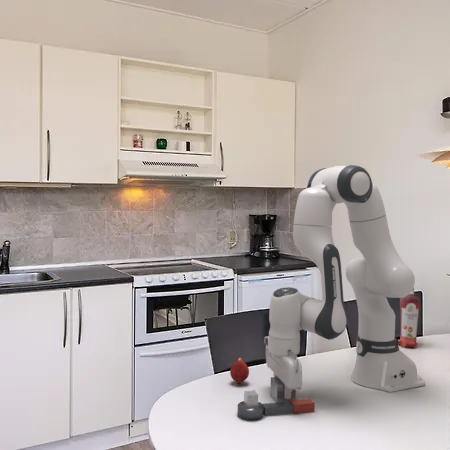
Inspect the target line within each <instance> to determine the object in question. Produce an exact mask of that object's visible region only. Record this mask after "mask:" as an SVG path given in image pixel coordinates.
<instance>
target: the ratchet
mask: <svg viewBox="0 0 450 450" xmlns="http://www.w3.org/2000/svg"><path fill="white" fill-rule="evenodd" d="M307 413H315V401H313V400H312V399H311V398H297V399H296V400H289V402H277V403H275V402H269V403H268V402H267V403H262V402H260V401H259V394H258V392H257V391H256V390H255V389H254V390H244V391H243V400H242V401H241V402H238V404H237V412H236V415H237V417H238V418H239V419H241V420H243V421H247V422H257V421H261V420H262V419H264V417H272V416H285V415H292V414H293V415H297V414H307Z"/></svg>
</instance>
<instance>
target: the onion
mask: <svg viewBox="0 0 450 450" xmlns="http://www.w3.org/2000/svg"><path fill="white" fill-rule="evenodd" d="M229 370H230V372H229V374H230V377H231V379H232V380H233V381H234V382H235V383H237V384H239V385H240V384H242V383H243V382H244V381H246V380H247V379H248V378H249V375H250V369H249V367H248V365H247V364H246V363H245V362H244V361H243V358H241V357H239V358H238V360H237V361H235V362H234V363H233V364H232V366H231V367H230V369H229Z"/></svg>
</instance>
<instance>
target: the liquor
mask: <svg viewBox="0 0 450 450" xmlns="http://www.w3.org/2000/svg"><path fill="white" fill-rule="evenodd" d="M414 277H415V275H414ZM420 304H421V300H420V298H419V297H418V296H416V295H415V287H414V288H413V290H412V291H411V293H410V294H409V295H407V296H406V297H403V298H399V321H400V323H399V324H400V325H399V330H400V332H399V334H400V336H399V337H400V338H399V340H402V341H405V344H406V346H405V347H404V348H406V347H408V348H407V349H413V348H412V347H414V348H416V346H417V345H418V343H417V338H418V337H417V335H418V324H419V317H420V316H419V315H420Z"/></svg>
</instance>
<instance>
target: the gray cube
mask: <svg viewBox="0 0 450 450" xmlns="http://www.w3.org/2000/svg"><path fill="white" fill-rule="evenodd" d="M269 390H270V391H269V396H270V398H271V399H272V401H273V403H277V402H289V400H296V398H297V396H296V395H297V389H293V390H292V392H291V398H290V399H286V398H285V397H284V396H283V394H284V393H283V391H285V384H284V383H283V382H282V381H281V380H280V379H279V378H278V377H274V376H273V377H272V376H271V377H270V389H269Z"/></svg>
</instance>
